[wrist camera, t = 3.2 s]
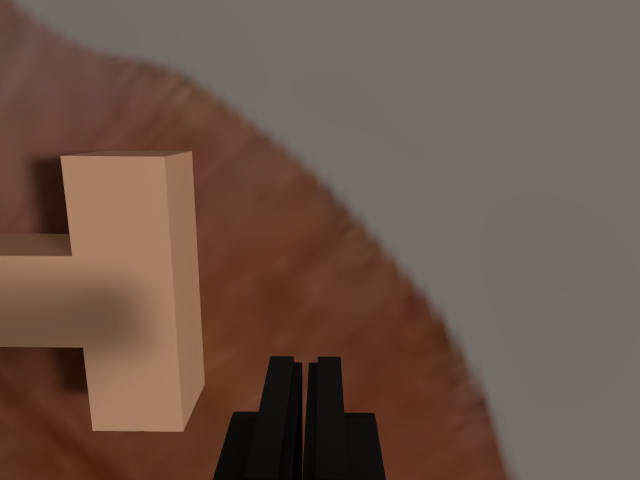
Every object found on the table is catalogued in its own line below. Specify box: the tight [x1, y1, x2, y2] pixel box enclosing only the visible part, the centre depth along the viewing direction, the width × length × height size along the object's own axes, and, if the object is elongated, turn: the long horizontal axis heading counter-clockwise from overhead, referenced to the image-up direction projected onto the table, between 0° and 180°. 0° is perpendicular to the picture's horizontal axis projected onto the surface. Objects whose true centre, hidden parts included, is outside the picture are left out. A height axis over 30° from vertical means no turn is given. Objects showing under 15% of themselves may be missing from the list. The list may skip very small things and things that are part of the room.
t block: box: [0, 150, 205, 431], centre depth 22 cm, size 12×12×4 cm
